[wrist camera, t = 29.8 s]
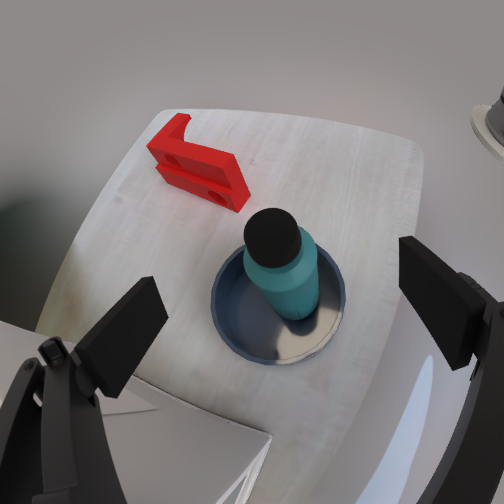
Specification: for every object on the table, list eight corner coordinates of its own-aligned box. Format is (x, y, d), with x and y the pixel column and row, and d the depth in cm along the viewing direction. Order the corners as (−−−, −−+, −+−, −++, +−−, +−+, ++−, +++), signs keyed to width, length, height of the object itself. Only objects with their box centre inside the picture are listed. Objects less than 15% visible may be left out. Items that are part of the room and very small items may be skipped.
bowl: (350, 263, 38) (354, 245, 32) (325, 377, 32) (327, 379, 27) (244, 245, 43) (232, 226, 37) (212, 347, 37) (194, 343, 32)
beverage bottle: (329, 296, 36) (338, 218, 18) (297, 334, 35) (274, 294, 17) (293, 268, 38) (267, 175, 21) (261, 303, 37) (206, 237, 20)
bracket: (142, 149, 44) (177, 112, 46) (167, 183, 53) (197, 147, 55) (218, 173, 36) (256, 127, 39) (238, 212, 45) (269, 169, 48)
